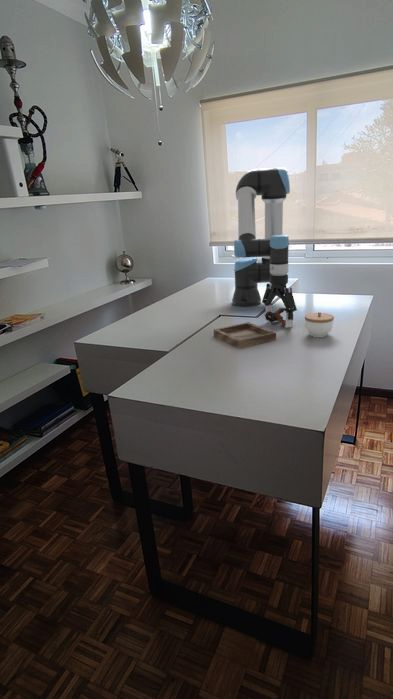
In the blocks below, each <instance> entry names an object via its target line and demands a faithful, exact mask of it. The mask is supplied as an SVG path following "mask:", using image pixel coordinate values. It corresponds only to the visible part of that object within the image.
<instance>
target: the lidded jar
mask: <svg viewBox="0 0 393 699" xmlns="http://www.w3.org/2000/svg"><path fill="white" fill-rule="evenodd" d="M334 319H335V316H334V315H333V314H331V313H326V312H322V311H317V312H310V313H307V314H306V315H305V316H304V321H305V322H304V324H305V325H304V326H305V329H306V331H307V333H308V334H309V335H310V336H311V337H312V336H313V338H318V337H321V338H325V336H326V335H329V334H330V332H331V331H332V329H333V325H334ZM326 337H327V336H326Z"/></svg>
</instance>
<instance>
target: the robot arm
mask: <svg viewBox="0 0 393 699" xmlns="http://www.w3.org/2000/svg"><path fill="white" fill-rule="evenodd" d="M289 176H290V175H289V173H288V169H287V168H286V167H277V166H276V167H269V168H267V167H266V168H253V169H251V170H249V171H247V172H246V173H244V174H243V175H242V176H241V178H240V179H239V181H238V182H237V186H236V189H235V198H236V200H237V204H238V205H237V222H238V224H237V226H238V228H237V229H238V230H237V231H238V234H237V235H238V236H237V237H238V239H235V240H234V241H233V253H234V257H235V258H240V259H237V260H236V261H235V262H234V269H233V271H234V291H233V295H232V298H231V304H232V306H237V307H253V305H254V306H257V304H258V305H260V304H264V306H265V308H264V310H265V314H266V313H267V312H273V305H272V302H274V299H275V298H276V297H278V298H279V299H281V301H282V303H283V305H284V308H286V310H287V312H286V311H285V319H286V325H285V328H286V329H287V328H291V327H293V321H292V319H293V320H294V312H297V311H298V309H297V305H296V302H295V300H294V295H293V288H292V287H287V284H288V282H289V274H288V273H289V251H290V250H289V247H290V241H289V236H288V235H287V234H283V228H284V227H283V225H284V223H283V220H284V219H283V218H284V217H283V216H284V212H283V211H284V201H285V200H286V199H287V195H289V194H290V193H291V192H290V189H291V188H290V186H291V185H290V177H289ZM257 196H261V201H262V202H263V203H264V238H256V237H257V236H256V235H257V234H256V208H255V205H256V204H255V203H256V202H255V200H256V199H257ZM259 257H260V258H261V259H258V258H259ZM263 283H264V284H265V283H266V285H265V286H266V288H265V291H264V295H263V297H262V296H261V295H260V292H259V288H258V284H263ZM259 303H260V304H259ZM268 317H269V318H271V316H268Z"/></svg>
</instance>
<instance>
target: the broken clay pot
mask: <svg viewBox="0 0 393 699" xmlns="http://www.w3.org/2000/svg"><path fill="white" fill-rule="evenodd" d="M284 312H285V313H286V312H287V310H286V308H285V307H280V308H278V309H277V310H275V311H274V312H273V311H272V312H267V313H266V312H265V314H264V317H265V321H267V322H269V323H270V324H273V323H274V322H280V328H286V318H285V319H284V316H282V315H281V314H283V313H284ZM268 316H271V318H269V317H268ZM293 321H294V318H293V319H292V322H293Z"/></svg>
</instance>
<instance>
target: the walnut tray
mask: <svg viewBox="0 0 393 699" xmlns="http://www.w3.org/2000/svg"><path fill="white" fill-rule="evenodd" d="M213 337H215V338H217V339H219V340H221V341H224V342H225V343H227V344H229V345H231V346H233V347H235V348H237V349H239V350H240V349H244V348H248V347H253V346H256V345H260V344H264V343H269V342H272V341H276V340H277V332H275V331H272V330H269V329H268V328H265V327H263V326H259V325H256V324H255V323H251V322H249V321H246V322H241V323H238V324H234V325H233V324H232V325H228V326H223V327H219V328H214V329H213Z"/></svg>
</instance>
